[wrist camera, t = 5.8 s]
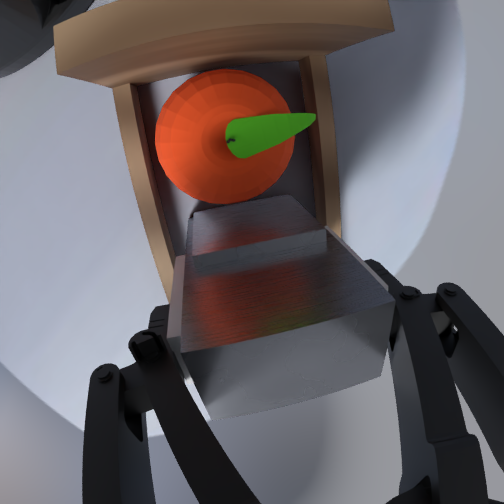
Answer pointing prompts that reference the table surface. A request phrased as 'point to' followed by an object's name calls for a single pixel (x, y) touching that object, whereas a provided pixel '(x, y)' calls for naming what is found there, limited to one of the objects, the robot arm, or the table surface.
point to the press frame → (208, 58)
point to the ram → (276, 309)
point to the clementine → (226, 136)
